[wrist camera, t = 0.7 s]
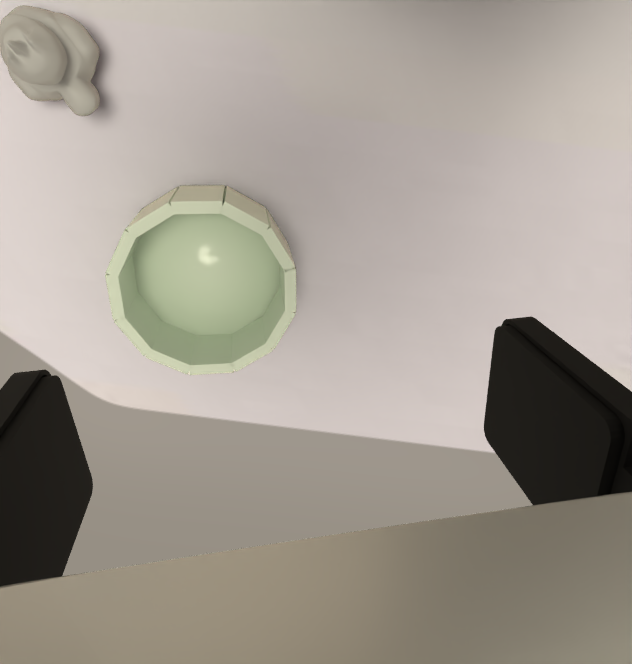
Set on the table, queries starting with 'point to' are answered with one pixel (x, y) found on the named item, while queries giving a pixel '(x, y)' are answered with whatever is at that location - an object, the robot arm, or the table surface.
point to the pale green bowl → (203, 280)
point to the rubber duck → (50, 57)
